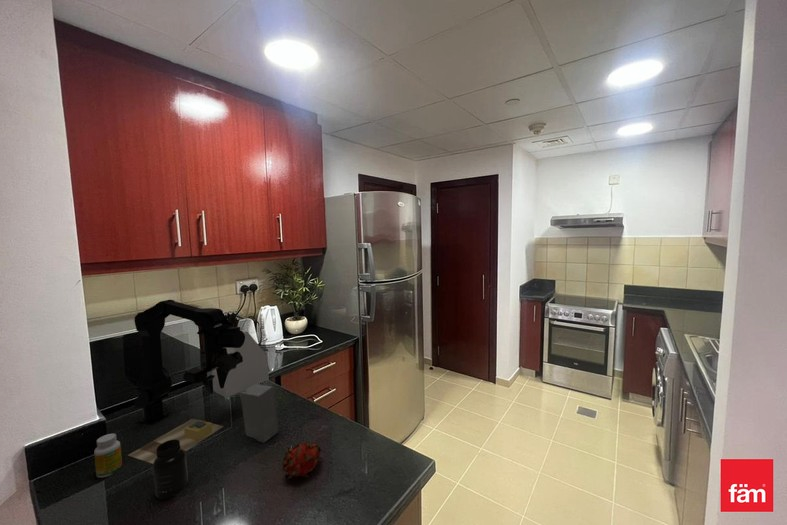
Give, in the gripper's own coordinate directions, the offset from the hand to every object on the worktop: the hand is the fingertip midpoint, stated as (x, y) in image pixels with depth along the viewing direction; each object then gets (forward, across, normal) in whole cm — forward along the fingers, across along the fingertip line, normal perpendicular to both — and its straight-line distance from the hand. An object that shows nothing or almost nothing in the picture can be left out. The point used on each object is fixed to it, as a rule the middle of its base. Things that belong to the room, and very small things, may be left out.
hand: (216, 390), depth 107 cm
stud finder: (+11, -8, 0) cm, 13 cm away
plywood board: (+12, -12, +4) cm, 17 cm away
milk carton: (+12, +26, +19) cm, 35 cm away
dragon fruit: (+12, -10, -42) cm, 45 cm away
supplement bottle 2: (+12, -26, -14) cm, 32 cm away
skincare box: (+12, 0, -19) cm, 23 cm away
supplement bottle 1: (+12, -26, +10) cm, 31 cm away
